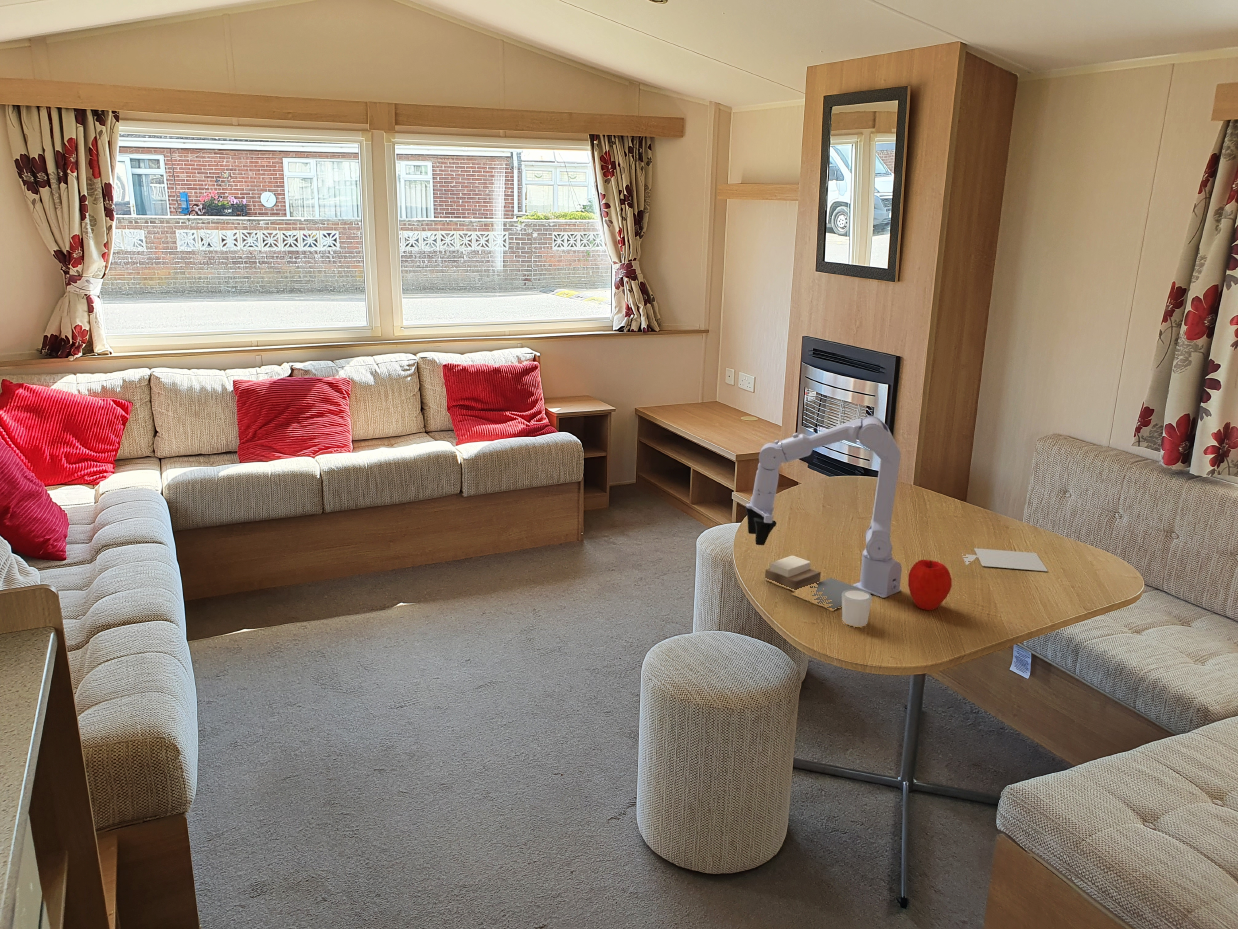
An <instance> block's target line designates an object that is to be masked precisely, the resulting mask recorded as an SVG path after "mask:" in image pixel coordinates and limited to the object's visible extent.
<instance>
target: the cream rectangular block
mask: <svg viewBox="0 0 1238 929" xmlns="http://www.w3.org/2000/svg"><path fill="white" fill-rule="evenodd" d="M811 564H812V563H811V561H809V560H807V559H803V558H801V557H798V556H795V555H789V556H787V557H783V558H781V559H778V560H776V561H773V562H770V563H769V568H770V571H773V572H775V573H778V574H781V575H783V576H786V577H790V576H793V575H795V574H798V573H801V572H804V571H806V570H809V569H810V568H811Z"/></svg>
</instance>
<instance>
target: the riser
mask: <svg viewBox="0 0 1238 929" xmlns="http://www.w3.org/2000/svg"><path fill="white" fill-rule="evenodd" d="M821 573H822V572H821V571H820V570H816V569H815V568H811V567H810V569H809V570H806V571H804V572H801V573H798V574H795V575H793V576H790V577H786V576H783V575H781V574H778V573H775V572H773V571H770V567H769V568H766V569H765V573H764V574H765V575H764V579H765V578H767V579H769V580H772V581H775V582H777V583H779V584H781V585H784V586H786V587H789V588H791V589H794V590H797V589H799V588H802V587H805V586H808V585H811V584H814V583H817V582H819V581H820V582H821Z"/></svg>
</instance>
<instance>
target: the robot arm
mask: <svg viewBox="0 0 1238 929" xmlns="http://www.w3.org/2000/svg"><path fill="white" fill-rule="evenodd" d="M857 440H858V441H859V444H860V445H862V446H863V448H866V449H867V450H869V451H872V452H873V453H874V454H875V455H876V456H877V457H878V459H880V460H879V468H878V473H877V474H878V475H877V481H876V489H875V497H874V502H873V510H872V516H871V520H870V525H869V527H868V528H867V530H866V531H865V535H864V538H865V540H864V541H865V543H866V545H865V549H864V550H862V555H861V556H862V557H861V568H860V569H861V570H860V577H859V578H860V579H859V580H860V581H858V582H857V583H853V584H852V586H855V587H858V588H860V589H863V590H866V591H869V592H871V593H872V595H874V596H877V597H879V596H880V598H882V599H884V598H888V597H890V596H892V595H894V594H896V593H898V592H901V591H902V588H901V579H902V564H901V563H900V562H899V561H897V560H895V559H894V557H893V553H892V552H893V545H892V540H891V533H892V532H891V531H892V527H891V526H892V517H893V510H894V502H895V498H896V491H897V484H898V477H899V476H898V475H899V469H900V463H901V456H902V455H901V454H902V453H901V450H900V447H899V446H898V444H897V442H896V440H895V438H894V437H893V434H892V432H891V431H890V429H889V427H888V425H887V424H886V423H885V422H883V420H881V418H879V417H877V416H875V415H874V416H873V415H869V416H865V417H862V418H856V419H853V420H849V421H847V422H844V423H842V424H839V425H837V426H834V427H831V428H829V429H826V430H823V431H820V432H817V433H816V434H812V435H806V434H805V433H800V434H799V433H798V432H795V433H793V434H792V436H791V437H787V438H784V439H782V440H780V439H776V440H774V442H768V443H765V444H764V445H763V446H762V447H761V448H760V451H759V454H758V461H759V463H758V464H757V470H756V472H755V473H756V474H755V478H754V484H753V492H752V496H750V502H749V503H746V504H745V506H744V509H745V512H746V517H747V533H748V534H751V535H755V545H756V546H765V544H766V542H767V539H768V538H769V535H770V533H771V532H772V531H773V529H774V528H775V527H776V526H777V521H776V520H773V519H774V514H773V513H774V509H775V508H774V504H775V498H776V493H777V488H778V482H779V476H780V474H779V470H780V467H781V465H782V464H783V463H785V464H787V463H789V462H792V461H796V460H800V459H802V458H803V459H804V458H805V457H809V456H811V454H812V453H813V450H815V449H817V448H821V447H825V446H828V445H832V444H835V443H838V442H843V441H846V442H849V443H852V444H855V445H856V444H857Z"/></svg>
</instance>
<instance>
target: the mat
mask: <svg viewBox="0 0 1238 929" xmlns="http://www.w3.org/2000/svg"><path fill="white" fill-rule="evenodd" d="M816 584H817V585H818V587H815V586H814V588H817V590H816V594H815V593H814V595H812V596H816V595H817V596H818V594H817V592H818V593H819V592H823V593H822V594H821V596H822V597H823V596H827V598H826V597H825V598H826V599H824V597H823V599H824V600H825V602H826V600H827V601H828V600H832V601H830V602H828V603H827V602H826V604H833V605H831V606H829V607H827V608H832V609H835V608H838V607H841V606H842V592H843V591H846V590H851V589H854V590H862V591H865V592H868V593H869V594H872V593H871V592H869V591H866V590H863V589H860V588H858V587H855V586H853V584H849V583H847V582H844V581H841V580H838V579H836V578H832V577H829V578H826V579H824V580H820V582H819V583H816ZM810 588H813V586H812V587H811V586H810ZM823 588H824V590H823ZM811 592H812V591H811ZM813 592H814V591H813ZM872 595H873V594H872ZM819 596H820V594H819ZM821 596H820V597H818V598H816V599H814V600H820V601H819V602H817V603H818V604H819V603H820V602H821V603H822V604H823V602H824V600H823V599H822V597H821ZM820 598H821V599H820ZM821 600H822V601H823V602H822V601H821ZM825 602H824V603H825ZM821 603H820V604H821ZM823 605H824V604H823Z"/></svg>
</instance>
